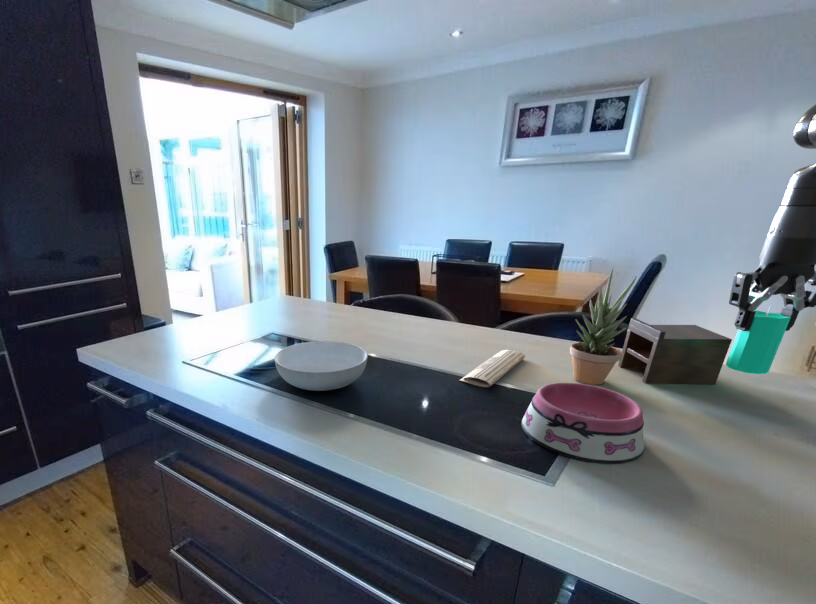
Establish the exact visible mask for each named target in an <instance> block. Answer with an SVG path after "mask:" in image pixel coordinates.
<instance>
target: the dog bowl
mask: <svg viewBox="0 0 816 604" xmlns="http://www.w3.org/2000/svg"><path fill="white" fill-rule="evenodd" d="M520 422H521V423H520V424H521V425H520V426H521V429H522V431H523V432H524V434H526V436H527V437H528V438H530V439H531V440H532V441H533V442H535V443H536V444H538V445H539V446H542V447H543V448H544V449H547V450H549V451H551V452H553V453H556V454H559V455H561V456H564V455H565V457H568V458H571V457H572V459H575V460H580V461H585V462H590V463H597V464H624V463H628V462H632V461H635V460H637V459H638V458H640V457H641V456H642V455H643V454H644V452H645V440H644V426H645V425H644V424H645V421H644V413H643V409H642V407H641V406H640V405H639V404H638V403H637V402H636V401H635V400H634V399H632V398H630V397H629V396H627V395H624V394H623V393H621V392H617V391H615V390H611V389H608V388H605V387H602V386H601V387H600V386H597V385H593V384H586V383H580V382H579V383H577V382H553V383H547V384H545V385H542V386H541V387H540V388H539V389H538V390H537V391H536V392H535V394H534V396H533V397H532V399H531V402H530V404H529V405H528V407H527V409H526V410H525V412H524V415H523V417H522V419H521V421H520Z"/></svg>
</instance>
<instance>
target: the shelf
mask: <svg viewBox="0 0 816 604" xmlns="http://www.w3.org/2000/svg"><path fill="white" fill-rule="evenodd" d="M732 341H733V339H732V338H730V337H728V336H725V335H723V334H719V333H717V332H714V331H712V330H709V329H708V328H707V329H706V328H704V327H701V326H699V325H697V324H649V323H647V322H644V321H643V320H641V319H638V318H635V317H634V318H631V317H630V322H629V324H628V327H627V332H626V335H625V339H624V343H623V346H622V350H621V352H622V355H621V358H620V360H619V361H618V367H619V368H643V369H645V370H644V374H643V377H642V382H643V383H644V384H661V385H663V384H664V385H665V384H668V385H714V386H715V385H716V384H717V381H718V378H719V376H720V373H721V370H722V368H723V366H724V362H725V360H726V357H727V354H728V352H729V349H730V347H731V344H732Z"/></svg>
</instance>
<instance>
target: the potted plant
mask: <svg viewBox="0 0 816 604" xmlns="http://www.w3.org/2000/svg"><path fill="white" fill-rule="evenodd" d="M613 273H614V267H611V269H610V273H609V278H608V280H607V284H606V289H605V294H604V295H603V289H602V287H600V288H599V290H598V299H597V300H598V301H597V302H595V306H594V304H593V301H592V299H591V298H590V299H589V311H590V317H591V321H592V322H591V321H590V320H589V319H588V318H587V316H586V315H585V313H582V319H583V321H584V323H585V325H586V327H587V329H588V331H587V329H586V328H585V326H584V325H582V324H581V323H580V322H579V321H578V319H577V318H576V319H575V322H576V324H577V325H578V327H579V328H580V330H581V331H582V333H581V332H579V330H578V329H576V333H577V335H578V336H579V337H580V339H582V341H580V340H578V342H575V343H572V344H571V345H570V348H569V355H571V363H572V374H573V379H574V380H575V381H577V382H579V383H581V384H586V385H601V384H604V382H605V381H606V379H607V378H608V376H609V374H610V372H611V371H612V370H613V368H614V366H615V365H616V363H617V362H619V361H620V358H621V355H622V350H621V349H619V348H616V347H614V345H615V344H616V342H615V343H614V340H615V338H614V337H616V336H618V335H620V334H621V333H622V332H624V331H625V330H627V327H623V328H622V329H620V330H617V329H618V327H619V325H620V324H621V323H623V321H624V320H625V319H626V318H627V315H625V316H623V317H622V318H620V319H619V320H617V321H616V319H618V317H620V314H621V313H622V312H623V310H624V309H625V307H626V306H627V305H628V304H627V303H625V304H624V305H622V303H623V300H624V299H625V297H626V295H627V294H628V292H630V290H631V288H632V286H633V285H634V284H635V282H636V280H637V276H638V275H636V276H634V278H633V279H632V280H631V282H629V284H628V285H627V286H626V288H625V289H624V290H623V291H622V292H621V294H620V295H619V297H617V299H616V300H615V302H614V303H612V305H611V300H612V296H613V295H612V294H611V295H610V290H611V283H612V279H613ZM603 296H604V297H603ZM609 296H610V297H609ZM621 305H622V306H621ZM611 342H613V343H611ZM610 343H611V344H610Z"/></svg>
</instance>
